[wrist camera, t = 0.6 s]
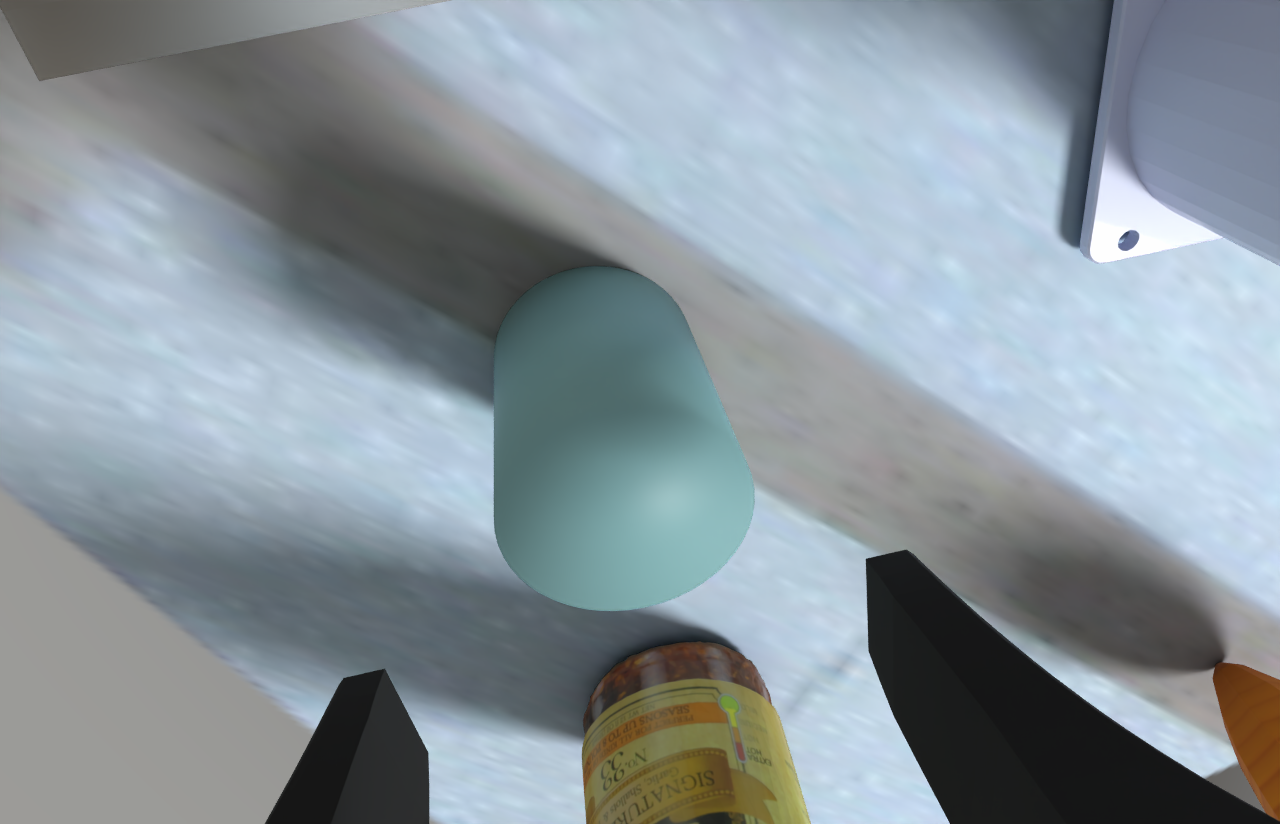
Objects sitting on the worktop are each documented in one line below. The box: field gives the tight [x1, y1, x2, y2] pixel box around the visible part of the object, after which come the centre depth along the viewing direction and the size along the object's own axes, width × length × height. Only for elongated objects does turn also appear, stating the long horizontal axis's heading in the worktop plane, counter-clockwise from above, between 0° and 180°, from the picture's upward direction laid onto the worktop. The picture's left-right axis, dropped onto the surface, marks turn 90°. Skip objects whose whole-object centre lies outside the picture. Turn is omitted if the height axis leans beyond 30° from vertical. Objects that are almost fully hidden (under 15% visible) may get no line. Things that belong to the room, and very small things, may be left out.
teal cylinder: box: [494, 266, 755, 611], centre depth 18 cm, size 5×5×6 cm
